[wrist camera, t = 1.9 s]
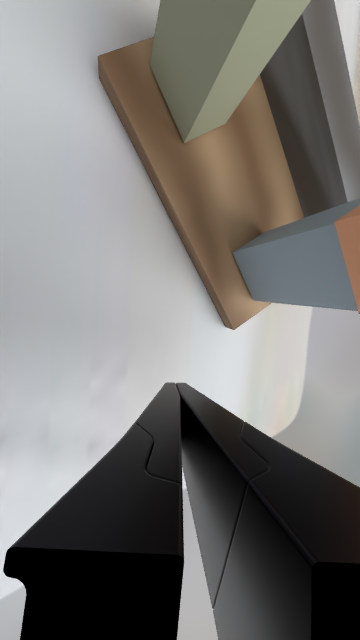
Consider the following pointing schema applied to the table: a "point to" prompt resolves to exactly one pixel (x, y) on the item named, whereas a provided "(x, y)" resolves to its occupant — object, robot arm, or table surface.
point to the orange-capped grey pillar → (307, 261)
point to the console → (247, 150)
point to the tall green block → (215, 55)
